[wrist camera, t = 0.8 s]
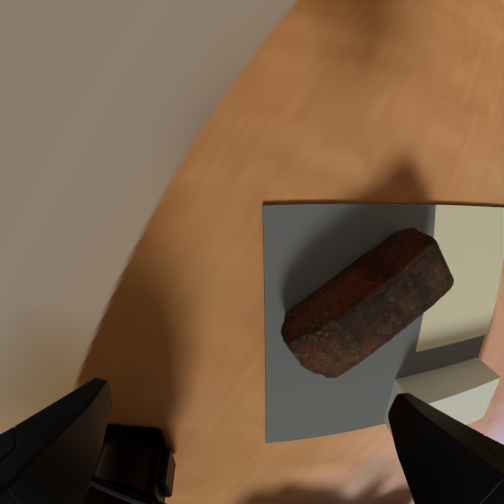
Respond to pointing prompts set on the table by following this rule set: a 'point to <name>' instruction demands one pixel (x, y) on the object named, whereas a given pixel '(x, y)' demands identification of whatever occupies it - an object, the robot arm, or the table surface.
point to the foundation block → (452, 389)
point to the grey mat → (401, 345)
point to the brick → (367, 303)
